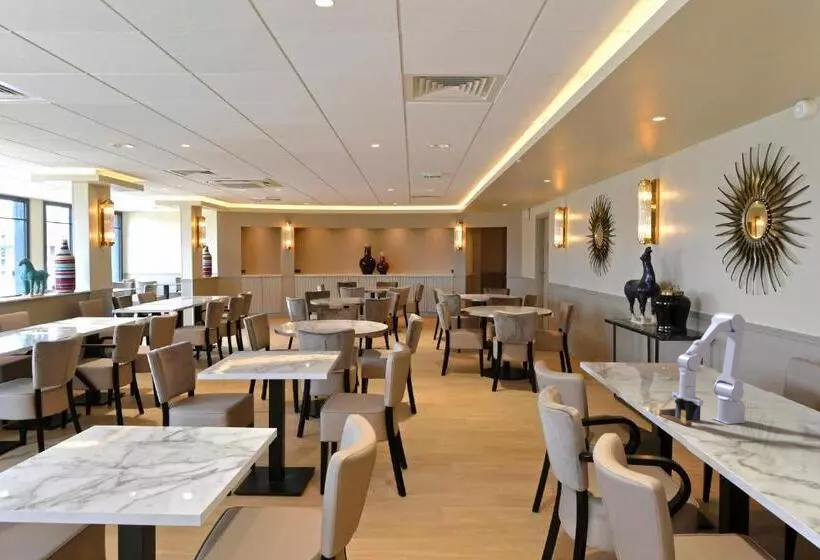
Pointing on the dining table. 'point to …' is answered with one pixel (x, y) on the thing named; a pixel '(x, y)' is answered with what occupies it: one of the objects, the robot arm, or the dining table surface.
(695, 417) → the flask
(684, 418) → the wooden t-shaped handle
